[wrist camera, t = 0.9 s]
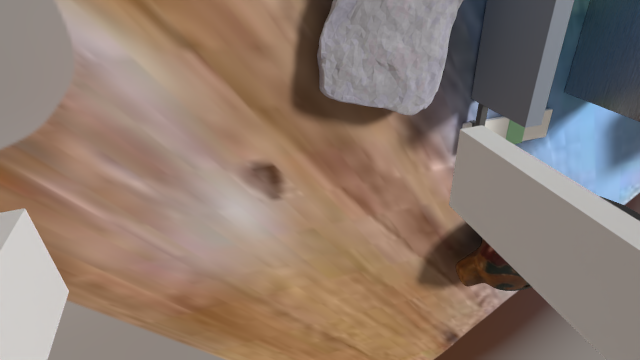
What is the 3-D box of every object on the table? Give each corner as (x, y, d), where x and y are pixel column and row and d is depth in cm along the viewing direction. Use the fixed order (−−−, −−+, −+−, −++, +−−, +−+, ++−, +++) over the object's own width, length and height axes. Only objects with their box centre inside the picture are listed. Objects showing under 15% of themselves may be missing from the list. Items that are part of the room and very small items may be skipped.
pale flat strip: (463, 122, 38) (466, 124, 38) (550, 107, 40) (553, 109, 40) (458, 152, 40) (461, 154, 40) (542, 136, 42) (546, 138, 42)
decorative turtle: (563, 210, 49) (617, 256, 43) (457, 276, 52) (494, 329, 45) (549, 160, 44) (609, 205, 37) (430, 236, 46) (468, 291, 39)
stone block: (306, 92, 34) (416, 107, 36) (310, 107, 30) (435, 125, 32) (330, -69, 29) (457, -42, 31) (339, -77, 25) (486, -46, 27)
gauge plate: (500, -84, 30) (578, -91, 24) (517, -85, 30) (598, -92, 24) (463, 147, 39) (511, 182, 34) (476, 144, 40) (526, 179, 34)
